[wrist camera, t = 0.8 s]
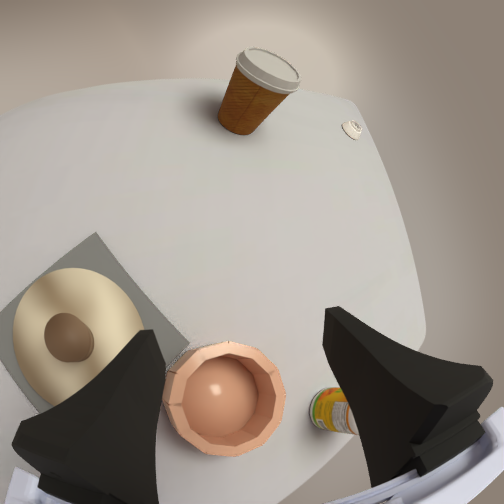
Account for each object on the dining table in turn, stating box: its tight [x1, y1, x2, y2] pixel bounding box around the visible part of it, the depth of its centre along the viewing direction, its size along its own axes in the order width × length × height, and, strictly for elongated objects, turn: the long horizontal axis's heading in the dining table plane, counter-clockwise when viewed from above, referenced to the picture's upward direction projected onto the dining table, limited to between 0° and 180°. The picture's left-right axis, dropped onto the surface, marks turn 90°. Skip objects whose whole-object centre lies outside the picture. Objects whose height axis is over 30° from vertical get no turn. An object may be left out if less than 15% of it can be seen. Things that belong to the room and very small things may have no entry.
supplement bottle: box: [310, 388, 359, 435], centre depth 23 cm, size 5×5×10 cm
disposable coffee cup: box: [218, 47, 301, 135], centre depth 34 cm, size 10×10×12 cm
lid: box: [13, 268, 144, 406], centre depth 17 cm, size 13×13×5 cm
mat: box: [0, 232, 189, 414], centre depth 19 cm, size 16×14×1 cm
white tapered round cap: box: [342, 120, 362, 140], centre depth 55 cm, size 5×3×5 cm
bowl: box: [162, 341, 286, 457], centre depth 21 cm, size 10×10×4 cm
